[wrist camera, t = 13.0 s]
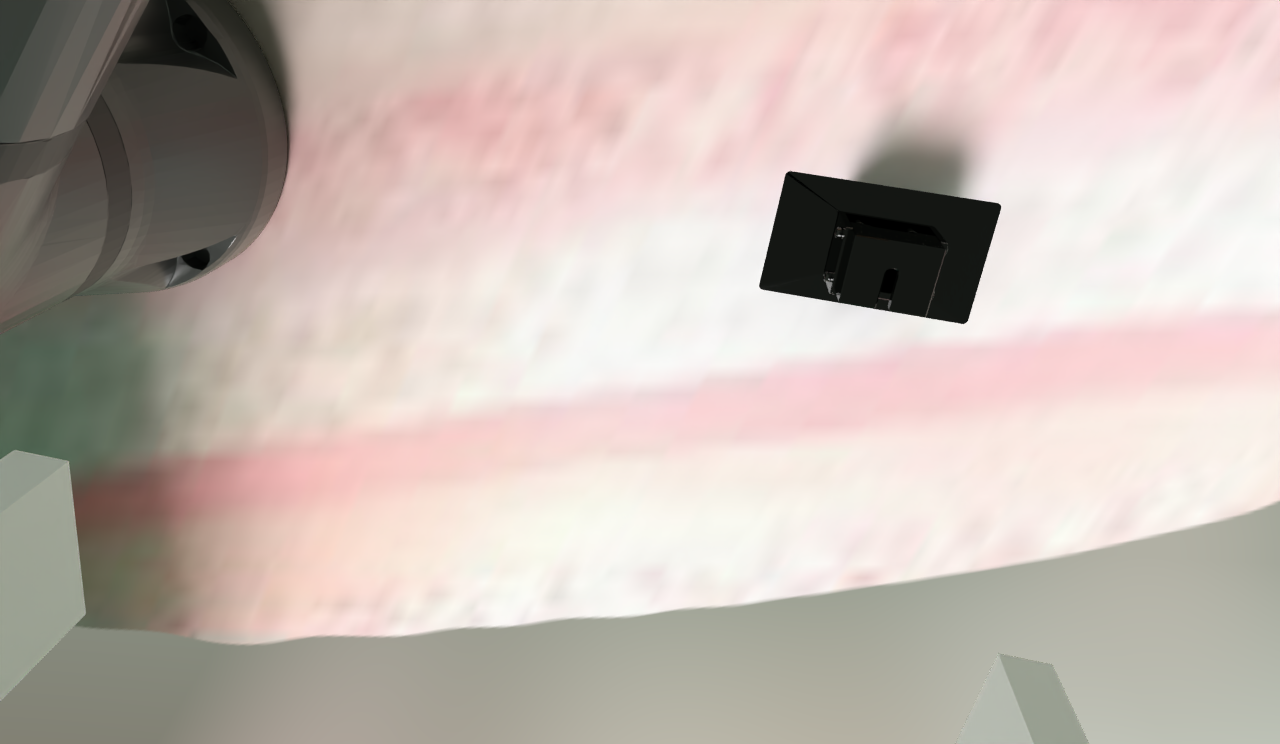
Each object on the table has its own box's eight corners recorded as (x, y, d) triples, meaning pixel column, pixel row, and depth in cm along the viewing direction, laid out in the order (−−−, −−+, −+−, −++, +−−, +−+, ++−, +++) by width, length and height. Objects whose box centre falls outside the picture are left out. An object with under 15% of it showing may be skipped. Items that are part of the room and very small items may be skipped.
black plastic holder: (722, 294, 41) (720, 331, 37) (753, 135, 38) (754, 156, 34) (989, 339, 41) (1018, 381, 37) (1041, 182, 38) (1079, 209, 33)
